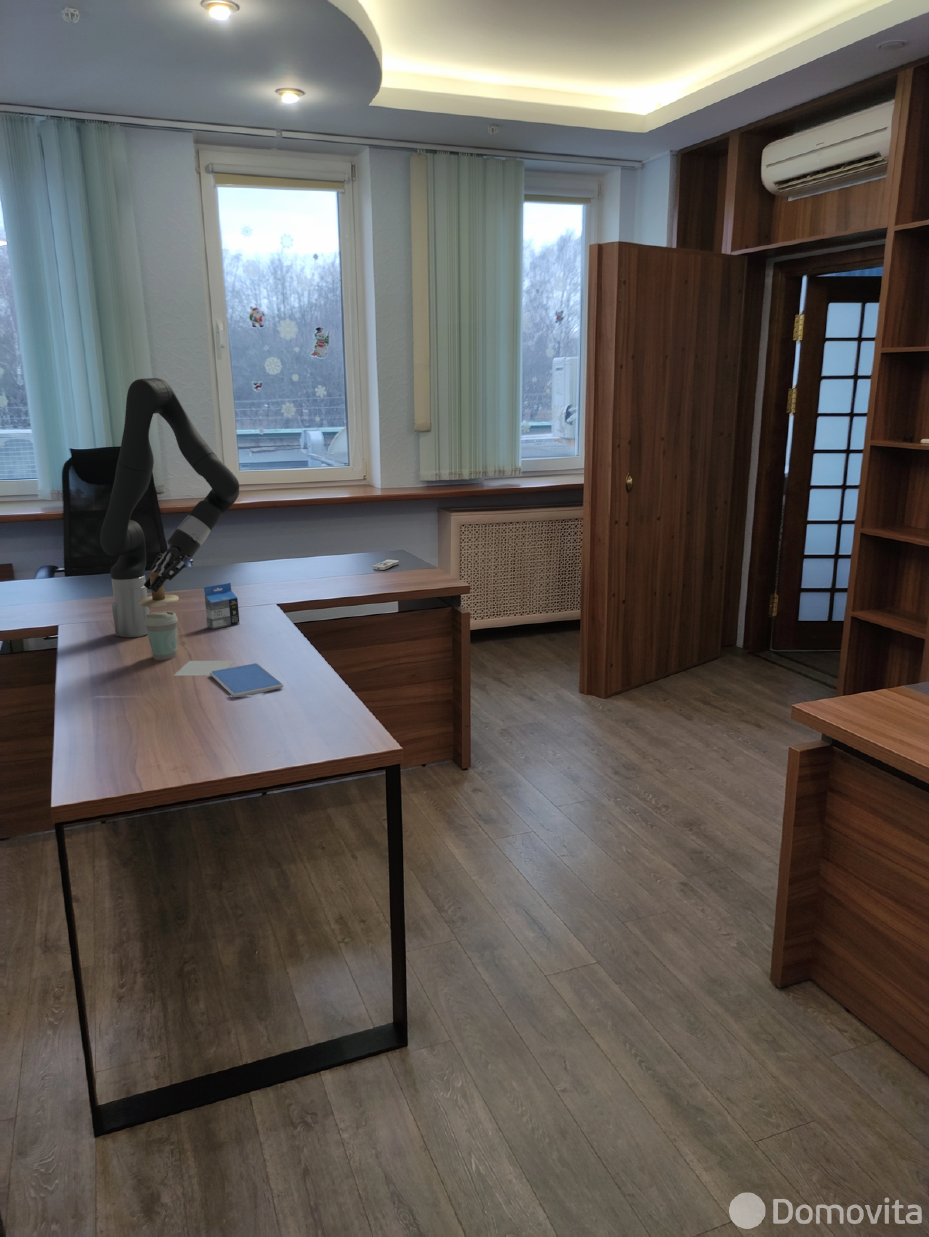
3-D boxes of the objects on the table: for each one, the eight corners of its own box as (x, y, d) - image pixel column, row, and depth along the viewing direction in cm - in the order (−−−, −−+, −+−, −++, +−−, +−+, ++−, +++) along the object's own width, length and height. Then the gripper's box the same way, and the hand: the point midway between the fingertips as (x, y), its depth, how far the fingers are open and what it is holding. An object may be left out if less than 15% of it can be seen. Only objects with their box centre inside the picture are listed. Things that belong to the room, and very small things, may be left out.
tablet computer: (208, 675, 219) (208, 670, 219) (257, 666, 225) (257, 661, 225) (233, 699, 203) (233, 694, 203) (285, 689, 210) (284, 684, 209)
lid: (132, 606, 227) (129, 577, 225) (147, 597, 237) (144, 569, 234) (170, 606, 226) (167, 576, 224) (184, 597, 236) (181, 568, 234)
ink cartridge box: (212, 629, 262) (208, 589, 259) (207, 627, 265) (203, 587, 261) (240, 624, 267) (236, 584, 264) (234, 621, 270) (230, 582, 267)
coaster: (173, 677, 220) (173, 675, 220) (189, 662, 231) (189, 660, 231) (220, 676, 219) (220, 675, 219) (234, 662, 231) (234, 660, 231)
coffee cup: (171, 663, 231) (166, 619, 227) (142, 662, 232) (136, 618, 229) (188, 653, 239) (183, 611, 236) (159, 652, 240) (154, 610, 237)
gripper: (167, 525, 236) (128, 576, 232) (189, 530, 226) (148, 584, 222) (188, 541, 241) (150, 592, 237) (211, 548, 231) (171, 601, 226)
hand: (149, 588), depth 229 cm, fingers closed on lid, 3 cm apart
